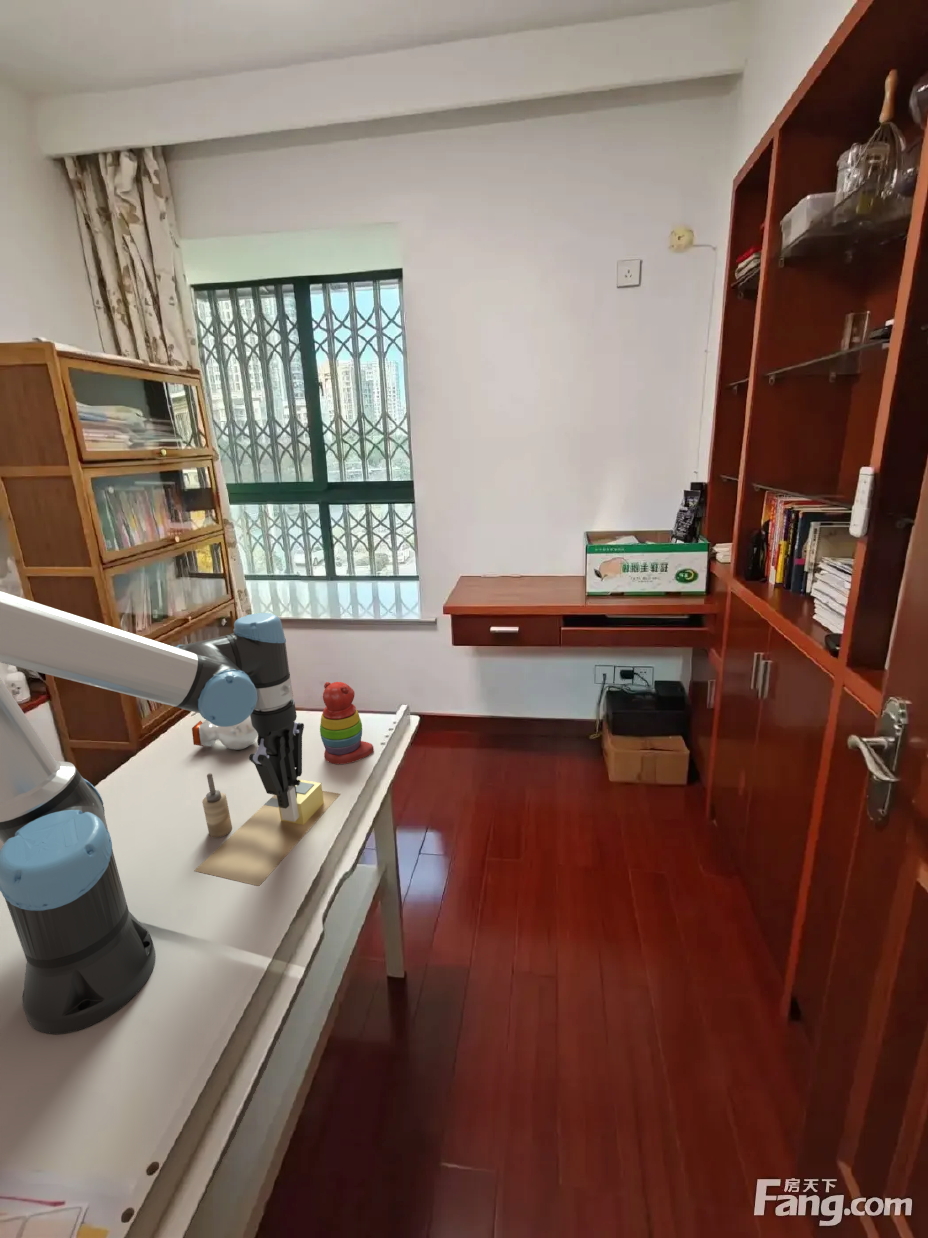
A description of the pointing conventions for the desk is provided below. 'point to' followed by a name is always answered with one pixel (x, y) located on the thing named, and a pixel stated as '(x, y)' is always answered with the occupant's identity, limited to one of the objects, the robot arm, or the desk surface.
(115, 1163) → the desk surface
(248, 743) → the potion bottle
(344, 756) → the stacking bear
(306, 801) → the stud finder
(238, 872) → the board
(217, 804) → the awl
